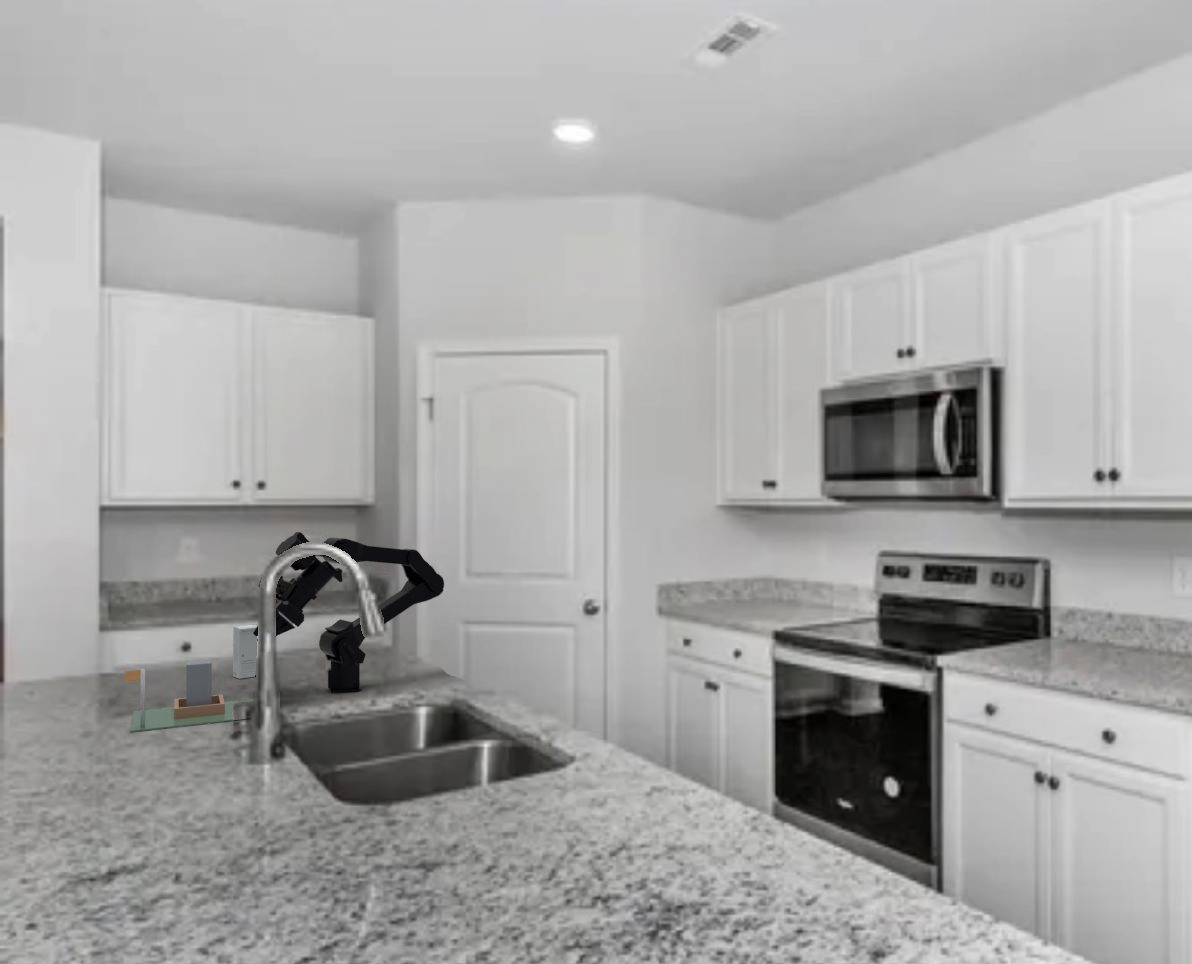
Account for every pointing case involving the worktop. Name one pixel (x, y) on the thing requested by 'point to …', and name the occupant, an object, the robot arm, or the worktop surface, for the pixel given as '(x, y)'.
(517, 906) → the worktop surface
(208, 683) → the grey block
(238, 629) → the skincare box
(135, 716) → the green base plate
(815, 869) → the worktop surface
